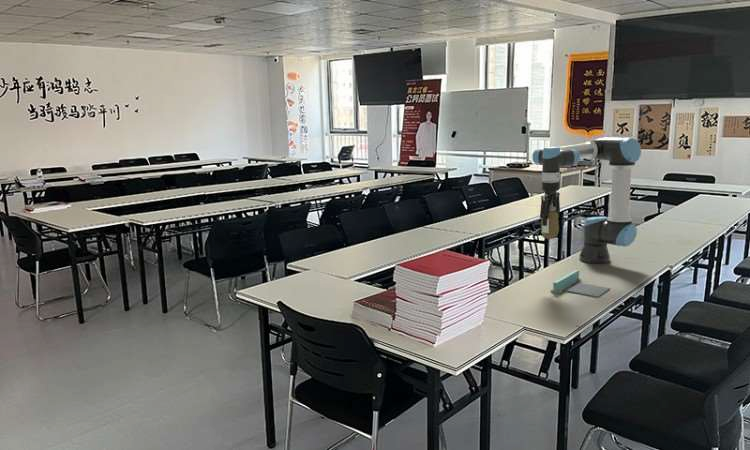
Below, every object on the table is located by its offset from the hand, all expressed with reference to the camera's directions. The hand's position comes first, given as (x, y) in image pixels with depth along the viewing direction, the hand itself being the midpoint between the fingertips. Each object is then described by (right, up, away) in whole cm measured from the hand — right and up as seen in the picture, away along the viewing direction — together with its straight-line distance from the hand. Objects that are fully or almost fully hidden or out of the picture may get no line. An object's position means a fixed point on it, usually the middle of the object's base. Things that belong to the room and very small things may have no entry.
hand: (549, 230), depth 254 cm
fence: (+7, -26, -1) cm, 27 cm away
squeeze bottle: (0, -3, +1) cm, 3 cm away
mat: (+15, -27, -7) cm, 31 cm away
